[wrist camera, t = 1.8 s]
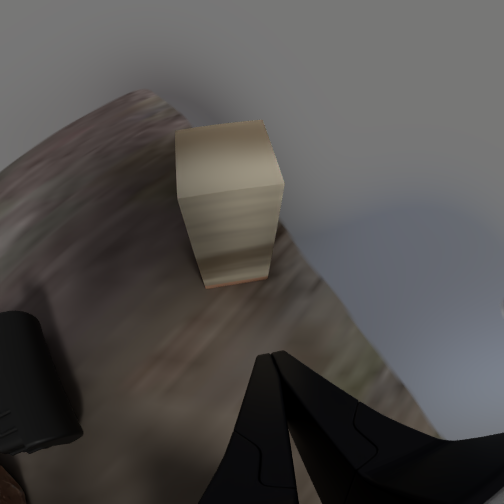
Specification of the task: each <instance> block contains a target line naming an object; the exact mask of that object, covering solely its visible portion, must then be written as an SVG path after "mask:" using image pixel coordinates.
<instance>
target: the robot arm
mask: <svg viewBox="0 0 504 504" xmlns="http://www.w3.org/2000/svg"><path fill="white" fill-rule="evenodd" d="M288 429H289V430H288ZM289 431H290V433H291V436H292V438H293V440H294V443H295V445H296V447H297V449H298V452H299V454H300V456H301V458H302V461H303V463H304V465H305V467H306V470H307V472H308V474H309V476H310V478H311V481H312V483H313V485H314V487H315V489H316V491H317V494H318V496H319V498H320V500H321V502H322V504H504V433H500V434H494V435H489V436H484V437H478V438H471V439H465V440H457V441H449V440H442V439H438V438H435V437H432V436H430V435H427V434H425V433H422V432H420V431H417V430H415V429H413V428H410V427H408V426H406V425H403V424H401V423H399V422H397V421H394V420H392V419H390V418H388V417H386V416H384V415H382V414H380V413H379V412H377V411H375V410H373V409H372V408H370V407H368V406H367V405H365V404H364V403H362V402H359V401H358V400H357V399H356V398H354V397H352V396H351V395H349V394H348V393H346V392H345V391H343V390H342V389H340V388H339V387H337V386H336V385H334V384H332V383H331V382H329V381H328V380H326V379H325V378H323V377H322V376H321V375H319V374H318V373H316V372H315V371H313V370H312V369H310V368H309V367H307V366H306V365H304V364H303V363H301V362H300V361H299V360H297V359H296V358H294V357H293V356H291V355H290V354H289V353H287V352H286V351H277V352H273V353H271V354H269V353H267V354H262V355H258V356H257V357H256V360H255V364H254V367H253V370H252V373H251V377H250V380H249V383H248V386H247V390H246V393H245V396H244V399H243V402H242V405H241V408H240V412H239V415H238V418H237V421H236V424H235V427H234V432H233V433H232V436H231V439H230V442H229V444H228V447H227V449H226V452H225V455H224V457H223V459H222V461H221V463H220V465H219V467H218V469H217V471H216V473H215V474H214V476H213V478H212V480H211V482H210V483H209V485H208V487H207V489H206V490H205V492H204V494H203V495H202V497H201V499H200V501H199V502H198V504H299V500H298V494H297V487H296V479H295V472H294V465H293V458H292V451H291V444H290V437H289Z"/></svg>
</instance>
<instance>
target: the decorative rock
mask: <svg viewBox="0 0 504 504" xmlns="http://www.w3.org/2000/svg"><path fill="white" fill-rule="evenodd" d="M0 504H26V500H25V494H24V492H23V490H22V488H21V487H20V485H19V484H18V483H17V482H16V481H15V480H14V479H13V478H12V476H11V475H10V474H9V473H8V472H7V471H6V470H5V469H4V468H3V467H2V466H1V465H0Z"/></svg>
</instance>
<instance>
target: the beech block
mask: <svg viewBox="0 0 504 504" xmlns="http://www.w3.org/2000/svg"><path fill="white" fill-rule="evenodd" d="M175 152H176V180H177V199H178V203H179V206H180V209H181V213H182V216H183V219H184V223H185V226H186V229H187V232H188V236H189V239H190V242H191V245H192V248H193V251H194V255H195V258H196V261H197V264H198V267H199V270H200V273H201V276H202V279H203V282H204V285H205V288H206V289H209V288H215V287H222V286H228V285H234V284H240V283H246V282H252V281H258V280H264V279H268V273H269V268H270V263H271V257H272V252H273V247H274V241H275V236H276V230H277V225H278V219H279V213H280V208H281V202H282V196H283V191H284V185H285V183H284V180H283V177H282V174H281V171H280V168H279V165H278V162H277V159H276V157H275V154H274V151H273V148H272V145H271V142H270V140H269V137H268V134H267V131H266V128H265V125H264V123H263V120H255V121H244V122H234V123H226V124H218V125H210V126H204V127H196V128H190V129H184V130H178V131H175Z"/></svg>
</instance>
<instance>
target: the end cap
mask: <svg viewBox="0 0 504 504" xmlns="http://www.w3.org/2000/svg"><path fill="white" fill-rule="evenodd" d="M82 436H83V430H82V428H81V426H80V424H79V422H78V420H77V418H76V416H75V414H74V412H73V410H72V407H71V405H70V403H69V401H68V399H67V396H66V394H65V392H64V390H63V387H62V385H61V382H60V380H59V377H58V375H57V372H56V370H55V367H54V364H53V362H52V359H51V356H50V353H49V350H48V348H47V345H46V341H45V338H44V335H43V332H42V329H41V325H40V323H39V321H38V319H37V318H36V317H34V316H33V315H31V314H29V313H26V312H22V311H7V312H2V313H0V452H1V453H3V454H10V455H12V456H13V455H16V454H18V453H21V452H27V453H29V454H31V453H33V452H36V451H38V450H40V449H45V448H49V447H51V446H55V445H62V444H68V443H71V442H73V441H75V440H77V439H79V438H80V437H82Z"/></svg>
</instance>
